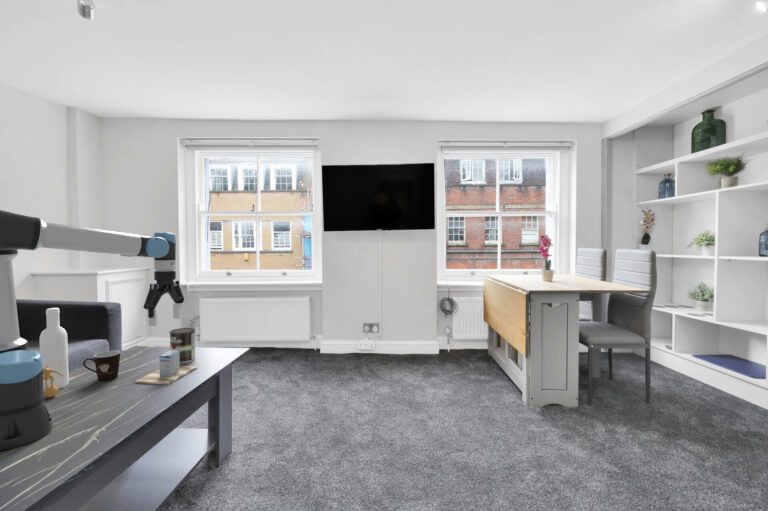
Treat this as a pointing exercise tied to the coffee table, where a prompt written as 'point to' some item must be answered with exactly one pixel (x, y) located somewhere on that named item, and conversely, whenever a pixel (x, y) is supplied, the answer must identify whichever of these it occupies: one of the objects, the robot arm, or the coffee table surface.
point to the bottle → (54, 349)
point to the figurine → (51, 390)
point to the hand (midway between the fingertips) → (165, 322)
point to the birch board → (156, 379)
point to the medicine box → (169, 363)
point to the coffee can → (183, 343)
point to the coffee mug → (106, 365)
